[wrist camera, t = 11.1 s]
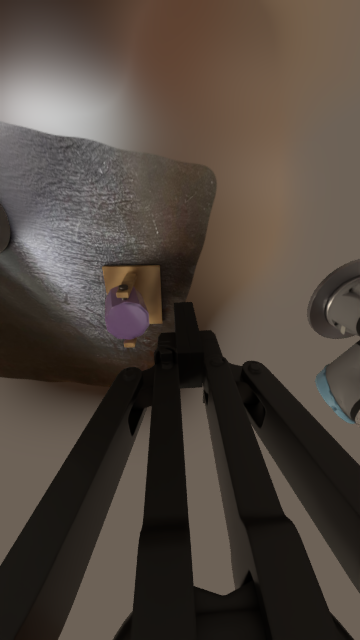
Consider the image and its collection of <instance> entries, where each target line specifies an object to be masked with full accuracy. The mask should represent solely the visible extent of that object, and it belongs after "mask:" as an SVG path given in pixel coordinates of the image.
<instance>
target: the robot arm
mask: <svg viewBox="0 0 360 640" xmlns="http://www.w3.org/2000/svg"><path fill="white" fill-rule="evenodd" d="M324 314H325V318H326V320H327V322H328V323H329V324H330V325H332V326H333V327H335V328H337V329H339V330H341V333H342V334H344V333H345V332H348V333H351V334H354V335H358V336H360V276H357V277H354V278H352V279H350V280H348V281H346V282H344V283H343V284H342V285H340V286H339V287H338V288H337V289H336V290H335V291H334V292H333V293H332V294H331V296H330V297H329V299H328V301H327V303H326V306H325V311H324ZM174 317H175V332H171V333H161V334H160V336H159V337H158V348H157V349H156V350H155V352H154V360H155V365H154V366H153V367H151V368H150V369H147V370H144V371H141V370H140V369H139V368H136V367H129V368H126V369H124V370H122V371H121V372H120V373H119V374H118V376H117V377H116V379H115V380H114V382H113V384H112V385H111V387H110V389H109V390H108V392H107V394H106V395H105V397H104V398H103V400H102V402H101V403H100V405H99V407H98V408H97V410H96V412H95V413H94V415H93V416H92V418H91V419H90V421H89V423H88V424H87V426H86V428H85V429H84V431H83V432H82V434H81V436H80V437H79V439H78V441H77V442H76V444H75V445H74V447H73V449H72V450H71V452H70V454H69V455H68V457H67V458H66V460H65V462H64V463H63V465H62V467H61V468H60V470H59V471H58V473H57V475H56V476H55V478H54V480H53V481H52V483H51V484H50V486H49V488H48V489H47V491H46V493H45V494H44V496H43V497H42V499H41V501H40V502H39V504H38V506H37V507H36V509H35V510H34V512H33V514H32V516H31V517H30V519H29V520H28V522H27V523H26V525H25V527H24V528H23V530H22V532H21V533H20V535H19V536H18V538H17V540H16V541H15V543H14V545H13V546H12V548H11V549H10V551H9V553H8V554H7V556H6V558H5V559H4V561H3V562H2V564H1V566H0V640H58V638H59V636H60V634H61V632H62V629H63V627H64V624H65V622H66V620H67V617H68V615H69V612H70V610H71V608H72V605H73V603H74V600H75V597H76V595H77V592H78V589H79V587H80V584H81V582H82V579H83V576H84V573H85V571H86V568H87V566H88V563H89V560H90V558H91V555H92V552H93V550H94V547H95V544H96V542H97V539H98V537H99V534H100V531H101V529H102V526H103V523H104V521H105V518H106V515H107V513H108V510H109V507H110V505H111V502H112V499H113V497H114V494H115V491H116V489H117V486H118V483H119V481H120V478H121V476H122V473H123V470H124V468H125V465H126V462H127V460H128V457H129V454H130V452H131V449H132V447H133V444H134V441H135V439H136V436H137V433H138V431H139V428H140V425H141V423H142V420H143V417H144V415H145V412H146V409H147V407H149V406H152V411H151V425H150V438H149V451H148V464H147V478H146V491H145V505H144V518H143V525H142V530H141V532H140V538H139V545H138V556H137V567H136V580H135V592H134V603H133V611H132V612H131V614H130V615H129V616H128V617H127V619H126V620H125V621H124V623H123V624H122V626H121V627H120V629H119V630H118V632H117V634H116V635H115V637H114V639H113V640H354V639H353V638H352V636H351V635H349V633H348V632H347V631H346V629H345V628H344V627H343V626H342V625H341V623H340V622H339V621H338V620H337V619H336V618H335V617H334V616H333V615H332V613H331V612H330V611H329V609H328V606H327V604H326V601H325V599H324V596H323V593H322V591H321V588H320V586H319V583H318V581H317V578H316V575H315V573H314V571H313V568H312V565H311V563H310V560H309V558H308V555H307V553H306V550H305V548H304V545H303V542H302V540H301V537H300V535H299V533H298V531H297V529H296V527H295V525H294V524H293V522H292V521H291V520H290V519H289V518H288V517H286V515H285V514H284V512H283V510H282V508H281V505H280V502H279V499H278V497H277V494H276V491H275V488H274V486H273V483H272V480H271V478H270V475H269V472H268V469H267V467H266V464H265V461H264V459H263V456H262V454H261V450H260V448H259V445H258V442H257V439H256V437H255V434H254V431H253V429H252V426H253V428H254V429H255V431H256V433H257V434H258V436H259V437H260V439H261V440H262V442H263V443H264V445H265V447H266V448H267V449H268V451H269V453H270V454H271V456H272V458H273V459H274V461H275V462H276V464H277V465H278V467H279V468H280V470H281V472H282V473H283V475H284V476H285V478H286V479H287V481H288V483H289V484H290V486H291V487H292V489H293V491H294V492H295V494H296V495H297V497H298V498H299V500H300V501H301V503H302V505H303V506H304V508H305V509H306V511H307V512H308V514H309V515H310V517H311V519H312V520H313V522H314V523H315V525H316V527H317V528H318V530H319V531H320V533H321V534H322V536H323V537H324V539H325V541H326V542H327V544H328V545H329V547H330V548H331V550H332V552H333V553H334V555H335V556H336V558H337V559H338V561H339V563H340V564H341V566H342V567H343V569H344V570H345V572H346V574H347V575H348V576H349V578H350V580H351V581H352V583H353V584H354V586H355V587H356V589H357V590H358V592H359V593H360V465H359V464H358V463H357V462H356V461H355V460H354V459H353V458H352V457H351V456H350V455H349V454H348V453H347V452H346V451H345V450H344V449H343V448H342V447H341V445H339V443H338V442H337V441H336V440H335V439H334V438H333V437H332V436H331V435H330V434H329V433H328V432H327V431H326V430H325V429H324V428H323V427H322V426H321V424H320V423H319V422H318V421H317V420H316V419H315V418H314V417H313V416H312V415H311V414H310V413H309V412H308V411H307V410H306V409H305V408H304V407H303V405H302V404H301V403H300V402H299V401H298V400H297V399H296V398H295V397H294V396H293V395H292V394H291V393H290V392H289V391H288V390H287V389H286V388H285V387H284V385H283V384H282V383H281V382H280V381H279V380H278V379H277V378H276V377H275V376H274V375H273V374H272V373H271V372H270V371H269V370H268V369H267V368H266V367H265V366H264V365H263V364H262V363H259V362H256V361H247V362H245V363H244V364H243V366H238V365H234V364H231V363H229V362H228V361H227V360H226V358H224V357H223V356H222V353H221V350H220V347H219V344H218V342H217V339H216V336H215V334H214V333H213V332H212V331H211V330H208V331H207V330H206V331H199V329H198V325H197V321H196V316H195V312H194V308H193V304H192V302H180V303H174ZM315 382H316V386H317V389H318V391H319V392H320V394H321V396H322V397H323V399H324V400H325V401H326V403H327V404H328V405H329V406H330V407H331V408H332V409H333V410H334V412H335V413H336V414H337V415H338V416H339V417H340V418H342V419H343V420H344V421H346V422H348V423H350V424H354V423H356V424H357V425H358V426H359V427H360V340H359V341H358V342H357V343H355V344H354V345H353V346H352V347H350V348H349V349H348V350H347V351H346V352H344V353H343V354H342V355H341V356H339V357H338V358H337V359H336V360H334V361H333V362H332V363H331V364H328V365H326V366H325V368H324V369H323V370H322V371H321V372H320V373H319V374H318V375H317V376H316V380H315ZM202 383H203V387H204V393H203V403H205V406H206V412H207V418H208V423H209V429H210V435H211V440H212V446H213V451H214V457H215V463H216V468H217V474H218V480H219V485H220V491H221V496H222V501H223V508H224V513H225V518H226V524H227V530H228V536H229V540H230V549H231V563H232V570H233V578H234V583H235V591H233V592H231V593H229V594H228V595H223V596H222V595H219V594H216V593H213V592H209V591H207V590H204V589H200V588H198V587H195V586H193V572H192V557H191V543H190V530H189V520H188V506H187V490H186V475H185V460H184V444H183V431H182V430H183V429H182V414H181V399H180V388H195V387H202ZM251 425H252V426H251Z"/></svg>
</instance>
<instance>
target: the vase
mask: <svg viewBox="0 0 360 640" xmlns="http://www.w3.org/2000/svg"><path fill="white" fill-rule="evenodd" d="M9 239H10V225H9V221H8V218H7V216H6V213H5V211H4V209H3V208H2V206H1V204H0V253H1V252H2V251H4V249H5V248H6V247H7V245H8V243H9Z"/></svg>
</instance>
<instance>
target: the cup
mask: <svg viewBox="0 0 360 640" xmlns="http://www.w3.org/2000/svg"><path fill="white" fill-rule="evenodd" d="M118 288H119V287H118V286H116V287H114V288H112V289H110V291H109V293H108V294H107V296H106V298H105V321H106V326H107V330H108V331H109V332H110V333H111V334H112V335H114V336H115V337H116V338H118V339H128V340H130V339H133V338H136V337H138V336H140V335H142V334H143V333H144V332H145V330H146V329H147V327H148V326H149V313H148V310H147V308H146V305H145V302H144V300H143V297H142V295H141V293H140V292H139V291H138V290H137V289H136V288H135V287H133V288H132V290H131V293H130V295H129V298H117V295H116V292H117V290H118Z"/></svg>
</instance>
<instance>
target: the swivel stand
mask: <svg viewBox="0 0 360 640" xmlns="http://www.w3.org/2000/svg"><path fill="white" fill-rule="evenodd" d="M102 269H103V274H104V280H105V286H106V291H107V294H108V293H109V291H110V289H112V288H114V287H116V286H118V287H119V288H118V290H117V292H116V295H117V298H129V295H130V293H131V290H132V288H133V287H135V288H136V289H137V290H138V291H139V292H140V293H141V295H142V297H143V300H144V302H145V305H146V308H147V310H148V313H149V324H159V323H162V303H161V278H160V265H119V266H103V267H102ZM136 339H137V337H136V338H133V339H130V340H128V339H125V341H124V347H135V344H136Z"/></svg>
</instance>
